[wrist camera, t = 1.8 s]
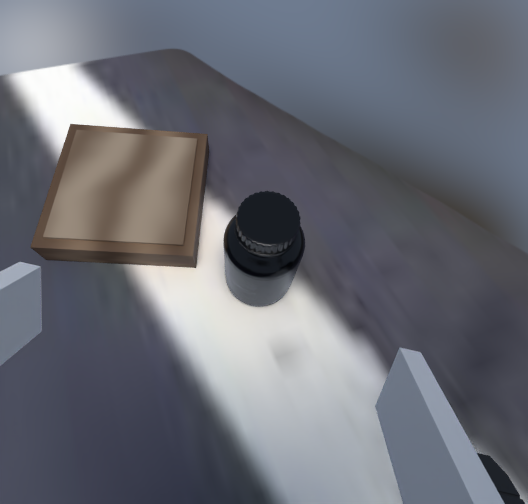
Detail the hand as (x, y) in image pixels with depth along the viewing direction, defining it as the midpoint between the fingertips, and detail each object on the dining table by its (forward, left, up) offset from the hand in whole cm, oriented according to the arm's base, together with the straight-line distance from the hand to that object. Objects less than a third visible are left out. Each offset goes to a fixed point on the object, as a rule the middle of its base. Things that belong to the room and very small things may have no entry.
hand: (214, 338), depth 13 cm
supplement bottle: (-3, -10, -22) cm, 24 cm away
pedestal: (+11, -18, -21) cm, 31 cm away
